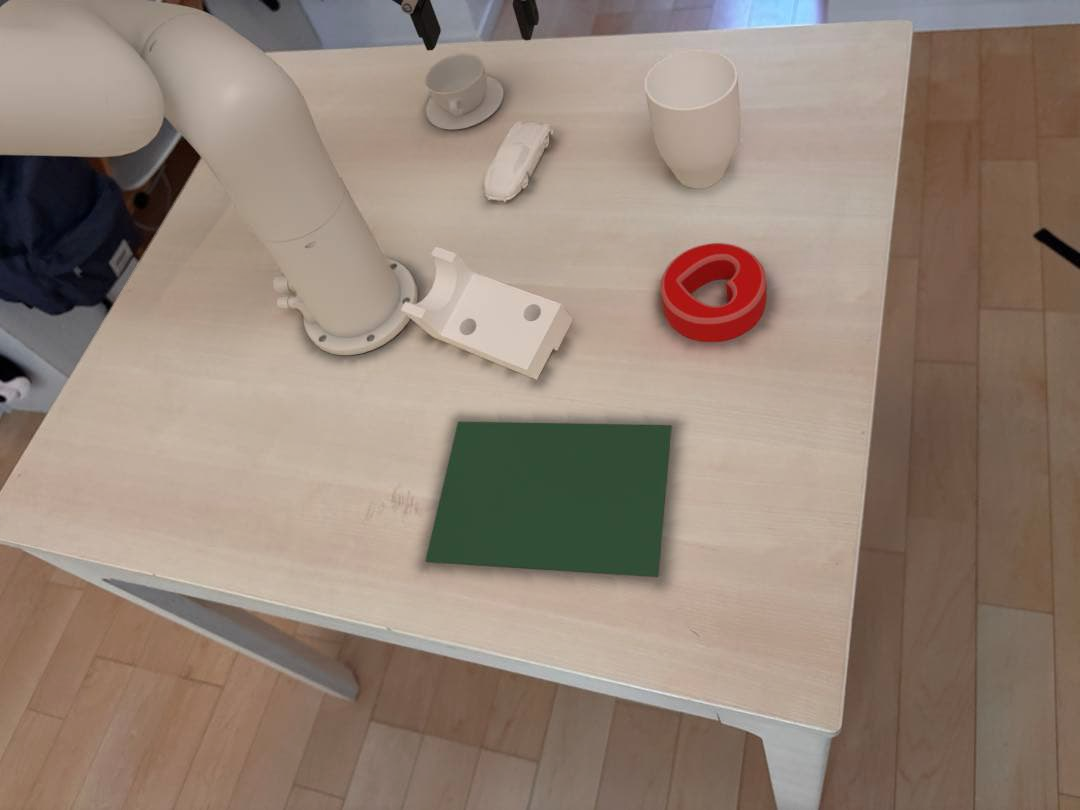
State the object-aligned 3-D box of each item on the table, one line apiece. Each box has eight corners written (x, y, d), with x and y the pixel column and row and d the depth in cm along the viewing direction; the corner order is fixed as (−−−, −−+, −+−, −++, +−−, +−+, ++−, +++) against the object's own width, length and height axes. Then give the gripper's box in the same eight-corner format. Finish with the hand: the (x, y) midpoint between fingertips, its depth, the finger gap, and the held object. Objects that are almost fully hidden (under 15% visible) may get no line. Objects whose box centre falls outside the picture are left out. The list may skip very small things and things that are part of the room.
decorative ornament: (652, 280, 86) (648, 259, 83) (747, 251, 85) (746, 229, 82) (679, 354, 80) (676, 334, 78) (781, 324, 79) (781, 302, 77)
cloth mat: (426, 562, 75) (425, 560, 74) (459, 423, 82) (458, 421, 82) (658, 577, 69) (657, 575, 69) (671, 426, 76) (671, 425, 76)
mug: (726, 207, 89) (720, 113, 79) (646, 195, 92) (630, 103, 82) (760, 130, 94) (758, 32, 84) (683, 121, 97) (672, 26, 87)
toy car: (556, 134, 101) (550, 110, 98) (517, 208, 96) (509, 185, 93) (519, 131, 103) (512, 107, 100) (479, 204, 97) (470, 181, 95)
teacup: (431, 85, 111) (419, 54, 108) (506, 72, 109) (496, 40, 105) (423, 138, 106) (410, 107, 102) (501, 125, 104) (491, 93, 100)
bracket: (437, 340, 89) (400, 310, 82) (468, 281, 90) (435, 246, 83) (540, 383, 83) (510, 354, 77) (573, 319, 84) (546, 285, 78)
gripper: (307, -111, 69) (388, 70, 83) (513, -146, 64) (563, 53, 78) (334, -160, 73) (408, 21, 87) (531, -197, 68) (575, 1, 82)
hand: (481, 36), depth 82 cm, fingers open, 9 cm apart
